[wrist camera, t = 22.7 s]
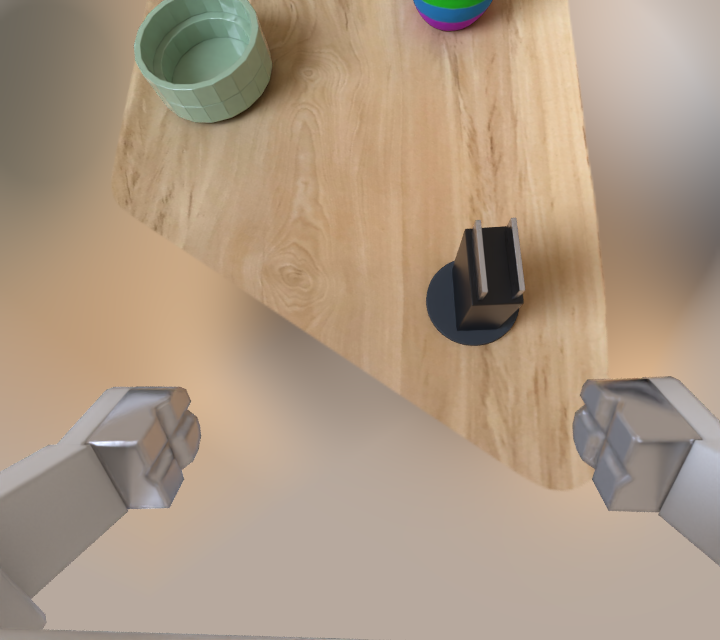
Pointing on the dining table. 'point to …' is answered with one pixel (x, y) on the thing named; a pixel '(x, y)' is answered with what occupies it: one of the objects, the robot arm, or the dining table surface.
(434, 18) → the decorative egg
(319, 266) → the dining table surface
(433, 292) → the coaster
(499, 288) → the clip
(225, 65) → the green bowl
